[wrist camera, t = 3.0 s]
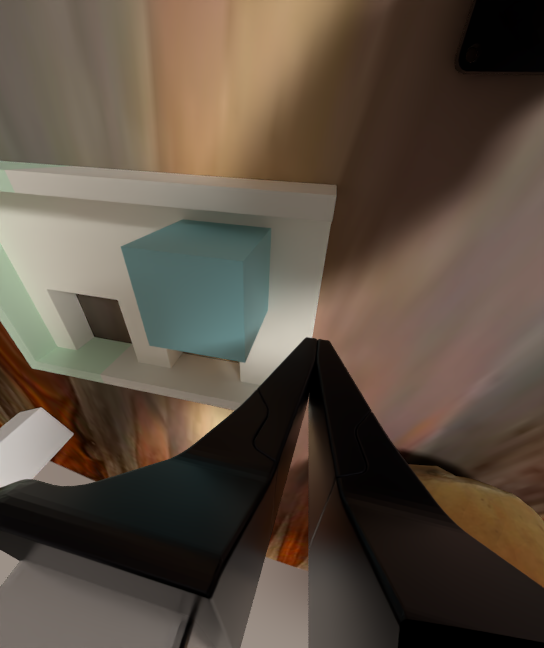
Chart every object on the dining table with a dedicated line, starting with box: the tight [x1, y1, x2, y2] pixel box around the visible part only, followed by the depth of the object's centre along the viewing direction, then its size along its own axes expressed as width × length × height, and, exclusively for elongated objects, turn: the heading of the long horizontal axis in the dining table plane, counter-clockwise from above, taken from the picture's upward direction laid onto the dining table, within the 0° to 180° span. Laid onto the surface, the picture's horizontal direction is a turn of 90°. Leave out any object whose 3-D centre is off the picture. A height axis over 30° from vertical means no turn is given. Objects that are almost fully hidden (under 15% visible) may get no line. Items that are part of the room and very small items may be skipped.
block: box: [121, 219, 271, 363], centre depth 13 cm, size 5×5×5 cm
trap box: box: [0, 161, 337, 410], centre depth 18 cm, size 23×15×4 cm, turn 87°
